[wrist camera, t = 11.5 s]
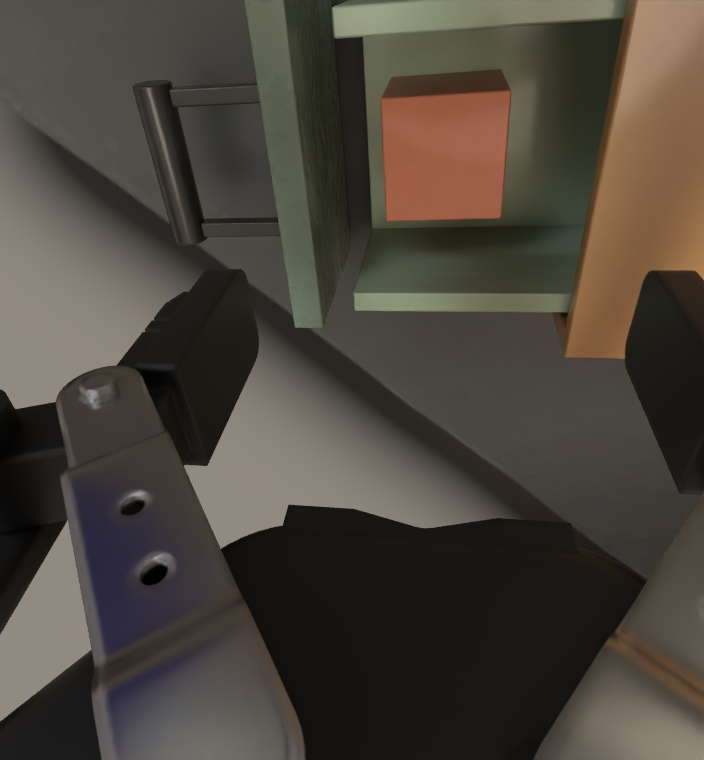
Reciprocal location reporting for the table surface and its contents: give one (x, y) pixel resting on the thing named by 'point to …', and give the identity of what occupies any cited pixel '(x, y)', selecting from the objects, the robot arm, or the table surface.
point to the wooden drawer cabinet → (642, 176)
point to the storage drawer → (325, 151)
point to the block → (445, 145)
